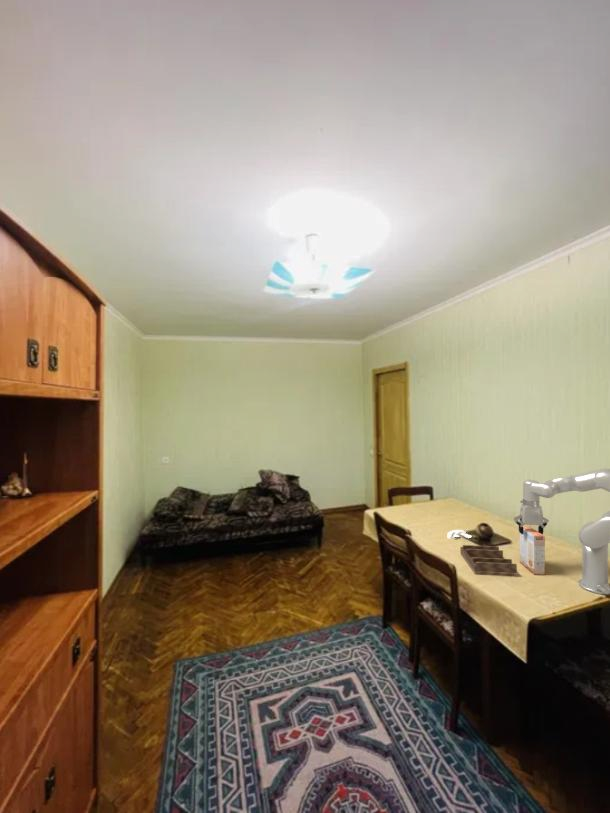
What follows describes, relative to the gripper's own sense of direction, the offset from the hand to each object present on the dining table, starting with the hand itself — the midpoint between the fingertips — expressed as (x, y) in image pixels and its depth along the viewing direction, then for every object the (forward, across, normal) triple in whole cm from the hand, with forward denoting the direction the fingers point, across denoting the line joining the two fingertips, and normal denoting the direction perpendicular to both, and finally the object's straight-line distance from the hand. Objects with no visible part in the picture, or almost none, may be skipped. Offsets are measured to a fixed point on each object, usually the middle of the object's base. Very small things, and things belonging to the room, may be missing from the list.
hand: (530, 533), depth 184 cm
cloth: (+21, -24, +42) cm, 53 cm away
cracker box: (+19, 0, 0) cm, 19 cm away
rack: (+19, -22, +2) cm, 29 cm away
